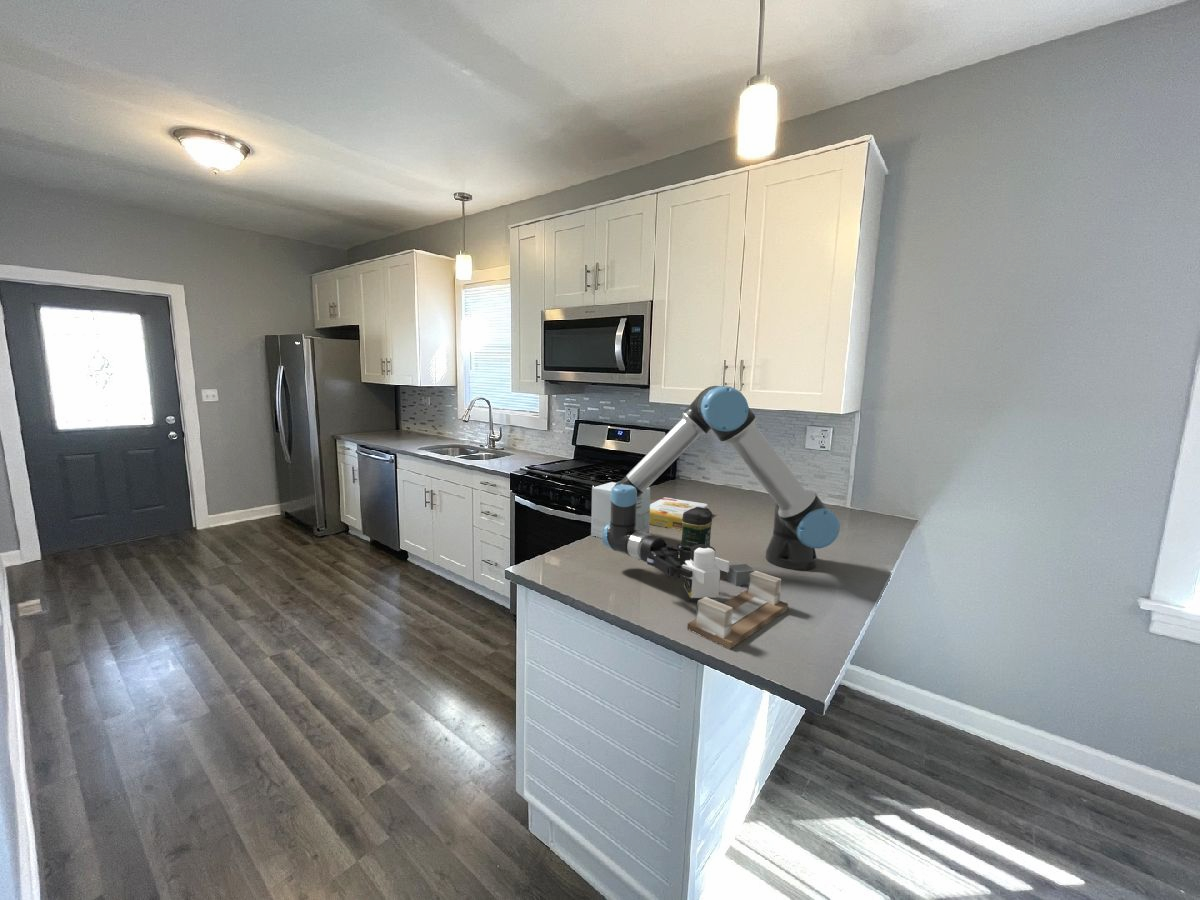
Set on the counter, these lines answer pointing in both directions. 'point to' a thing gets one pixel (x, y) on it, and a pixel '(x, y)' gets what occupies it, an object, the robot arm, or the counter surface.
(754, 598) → the rail board
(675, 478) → the counter surface
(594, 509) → the supplement box
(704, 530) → the coffee jar
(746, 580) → the gray cube
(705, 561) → the medicine bottle
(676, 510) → the cereal box
